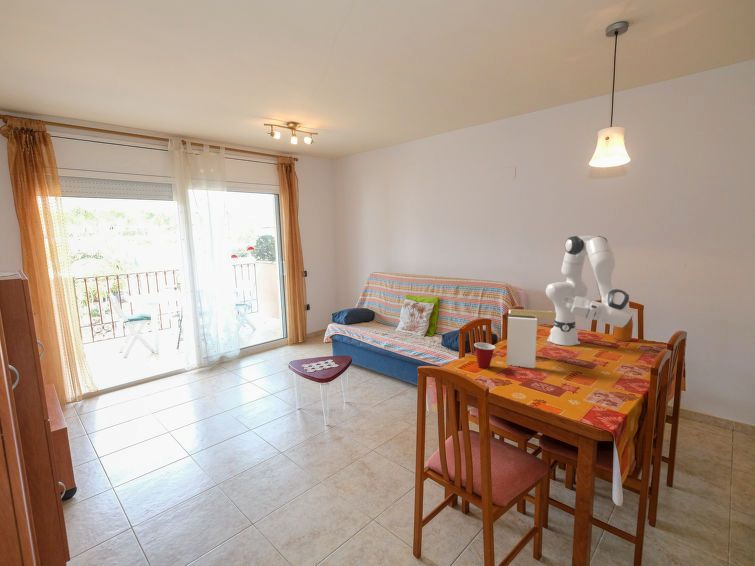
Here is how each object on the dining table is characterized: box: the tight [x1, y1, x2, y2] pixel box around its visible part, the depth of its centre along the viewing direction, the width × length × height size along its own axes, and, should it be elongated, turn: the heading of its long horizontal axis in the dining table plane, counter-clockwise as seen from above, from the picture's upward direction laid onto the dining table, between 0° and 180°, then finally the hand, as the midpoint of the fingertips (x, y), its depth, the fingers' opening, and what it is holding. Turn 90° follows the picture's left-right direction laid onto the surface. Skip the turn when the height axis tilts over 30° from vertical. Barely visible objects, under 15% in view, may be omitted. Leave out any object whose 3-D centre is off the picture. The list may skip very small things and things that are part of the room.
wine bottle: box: [613, 294, 634, 342], centre depth 229 cm, size 10×10×30 cm
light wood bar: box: [510, 308, 556, 319], centre depth 188 cm, size 3×22×3 cm, turn 69°
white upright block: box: [505, 309, 538, 369], centre depth 197 cm, size 21×14×26 cm, turn 159°
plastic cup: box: [473, 342, 496, 370], centre depth 189 cm, size 11×11×12 cm
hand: (563, 300), depth 185 cm, fingers open, 8 cm apart
